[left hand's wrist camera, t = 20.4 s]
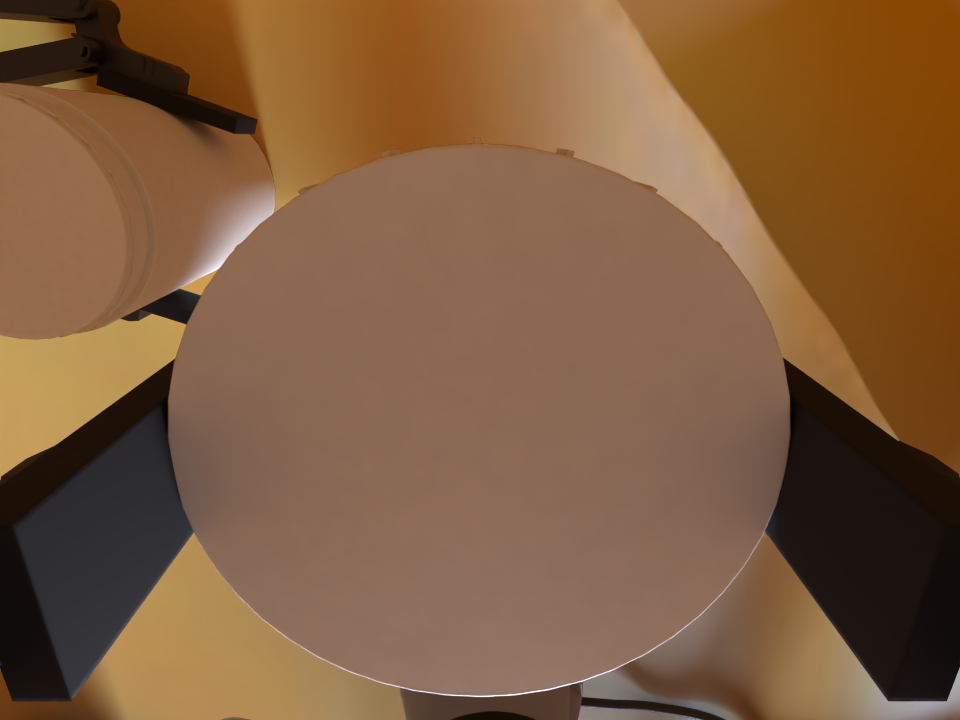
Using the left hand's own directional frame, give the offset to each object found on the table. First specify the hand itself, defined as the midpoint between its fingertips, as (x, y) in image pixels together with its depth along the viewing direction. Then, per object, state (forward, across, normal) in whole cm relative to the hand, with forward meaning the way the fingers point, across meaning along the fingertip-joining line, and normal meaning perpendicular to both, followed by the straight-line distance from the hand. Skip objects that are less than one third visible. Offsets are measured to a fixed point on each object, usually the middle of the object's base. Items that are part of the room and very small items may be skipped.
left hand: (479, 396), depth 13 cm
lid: (-3, 0, 0) cm, 3 cm away
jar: (+26, +18, -2) cm, 31 cm away
